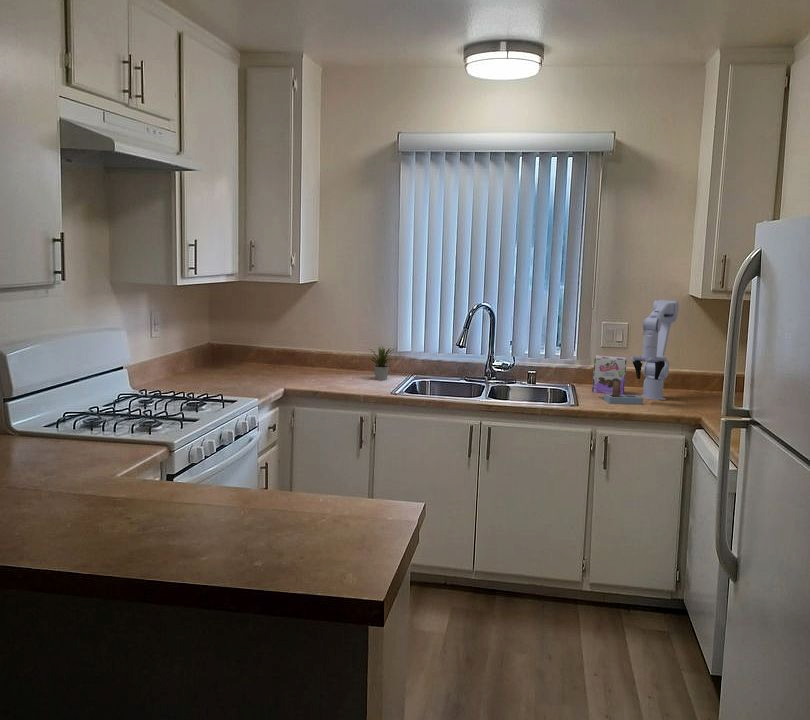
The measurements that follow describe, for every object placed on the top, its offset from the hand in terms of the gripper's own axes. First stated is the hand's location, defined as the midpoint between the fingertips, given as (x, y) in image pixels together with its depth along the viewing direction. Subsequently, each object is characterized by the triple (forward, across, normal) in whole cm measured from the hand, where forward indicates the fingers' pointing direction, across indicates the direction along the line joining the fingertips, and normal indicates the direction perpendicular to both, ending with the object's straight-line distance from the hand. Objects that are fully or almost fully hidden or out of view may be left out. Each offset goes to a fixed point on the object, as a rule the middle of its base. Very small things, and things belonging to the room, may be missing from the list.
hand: (647, 379), depth 336 cm
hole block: (+10, -10, 0) cm, 14 cm away
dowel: (+11, -13, 0) cm, 17 cm away
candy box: (+10, -9, +22) cm, 26 cm away
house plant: (+11, -108, +44) cm, 117 cm away
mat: (+10, -12, +8) cm, 17 cm away
